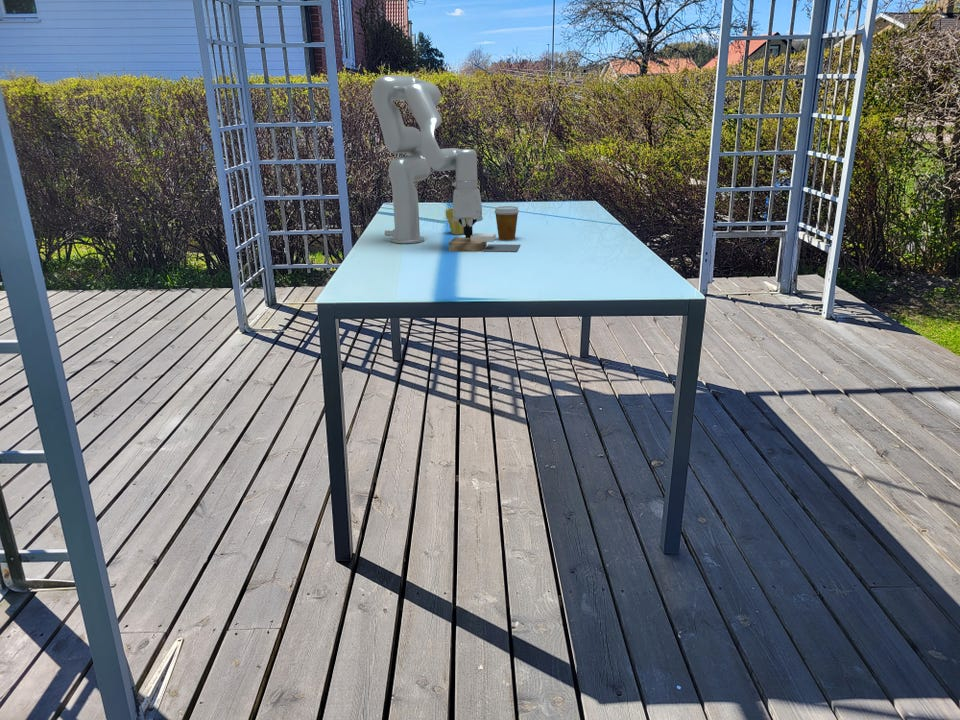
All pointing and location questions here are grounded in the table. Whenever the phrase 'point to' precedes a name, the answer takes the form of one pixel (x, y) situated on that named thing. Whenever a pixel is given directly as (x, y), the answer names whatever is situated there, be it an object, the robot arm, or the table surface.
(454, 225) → the plant pot
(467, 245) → the block
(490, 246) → the mat
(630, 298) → the table surface
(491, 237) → the tile
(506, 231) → the disposable coffee cup
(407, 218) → the robot arm
